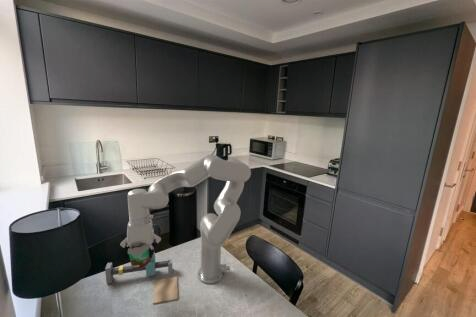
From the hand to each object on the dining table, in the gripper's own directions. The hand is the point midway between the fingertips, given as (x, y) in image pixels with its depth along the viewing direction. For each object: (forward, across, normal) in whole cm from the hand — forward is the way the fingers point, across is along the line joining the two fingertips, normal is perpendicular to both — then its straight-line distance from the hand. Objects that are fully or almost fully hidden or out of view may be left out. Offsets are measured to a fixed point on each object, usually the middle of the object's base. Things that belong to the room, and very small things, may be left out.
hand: (142, 257), depth 97 cm
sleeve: (+16, -2, -11) cm, 19 cm away
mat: (+17, -9, +2) cm, 20 cm away
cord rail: (+17, +2, -10) cm, 20 cm away
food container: (+3, -1, 0) cm, 3 cm away
